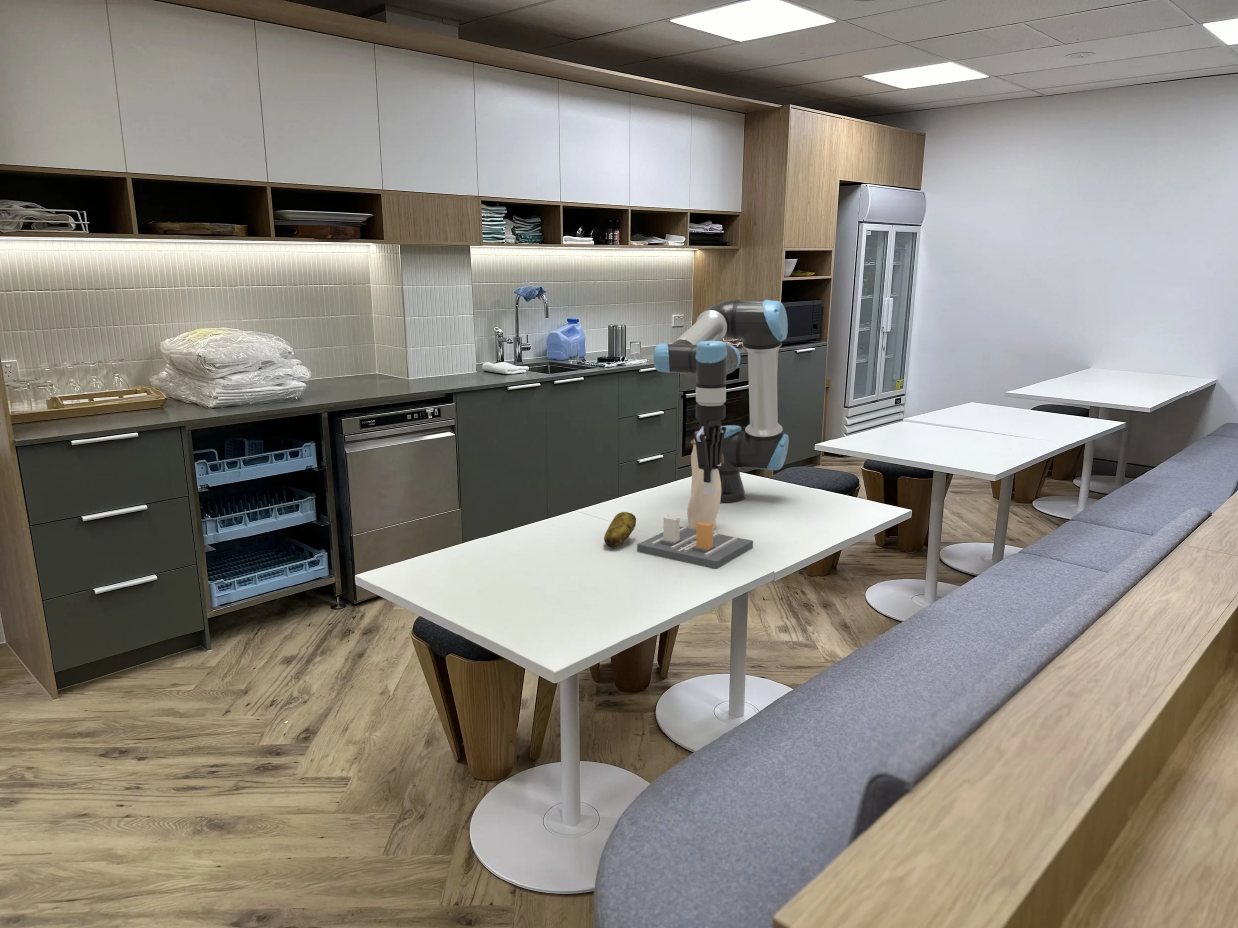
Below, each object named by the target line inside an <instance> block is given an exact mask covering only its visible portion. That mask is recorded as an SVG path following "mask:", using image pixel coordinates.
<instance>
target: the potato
mask: <svg viewBox="0 0 1238 928" xmlns="http://www.w3.org/2000/svg"><path fill="white" fill-rule="evenodd" d="M636 525H637V518H636V515H635V514H633V513H631V512H628V511H623V512H622V511H621V512H619V513H617V514H615V516H614V518H613V519H612V521H611V522H610V524H609V526H608V528H607V529H606V531H605V533H604V537H603V540H604V541H603V542H604V544H605V545H606V546H607V547H608V548H610V549H615V548H618V547H620V546H621V545H622V544H623V543H624V542H625V541H626V540H628V538H629V537H630V536H631V535H632V533H633V531H635V528H636Z"/></svg>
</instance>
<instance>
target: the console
mask: <svg viewBox="0 0 1238 928" xmlns="http://www.w3.org/2000/svg"><path fill="white" fill-rule="evenodd" d="M680 539H682V541H681V542H679V543H677V544H675V545H673V546H671V545H666V544H661V540H663V532H660V533H657V534H656V535H654V536H652V537H650V538H647V539H646V540H643V541H641V542H639V543H637V545H636V552H638V553H641V554H646V555H652V556H656V557H660V558H664V559H669V560H674V561H679V562H683V563H689V564H691V565H697V566H701V567H706V568H711V569H715V570H717V569H719V568H721V567H723V566H724V565H726V564H727V563H729V562H731V561H733V560H734V559H736V558H738V557H741V555H743V554H745V553H747V552H748V551H750V550H752V549H753V548H754V540H752V539H748V538H747V539H746V538H741V537H738V536H730V535H726V534H722V533H721V534H720V533H718V532H713V546H715V548H714V549H712V550H711V551H709V552H707V553H704V552H699V551H695V550H694V547H695V546H696V529H691V528H689V527H688V526H680Z"/></svg>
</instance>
